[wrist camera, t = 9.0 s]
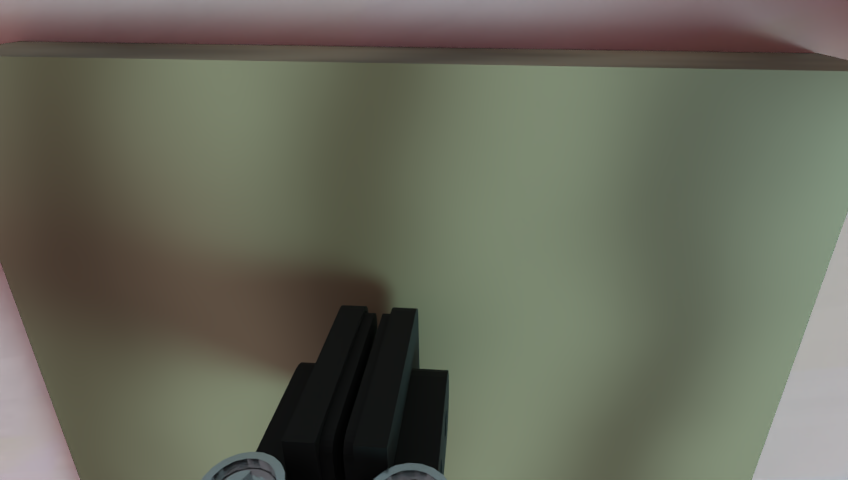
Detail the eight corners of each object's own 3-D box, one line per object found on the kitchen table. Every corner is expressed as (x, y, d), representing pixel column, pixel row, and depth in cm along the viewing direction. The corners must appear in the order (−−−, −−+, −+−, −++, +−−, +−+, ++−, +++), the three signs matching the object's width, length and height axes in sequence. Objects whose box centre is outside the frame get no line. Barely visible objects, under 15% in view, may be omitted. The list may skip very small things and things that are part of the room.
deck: (818, 53, 12) (897, 72, 9) (631, 688, 22) (648, 769, 20) (19, 41, 13) (-76, 54, 11) (195, 639, 24) (164, 708, 21)
